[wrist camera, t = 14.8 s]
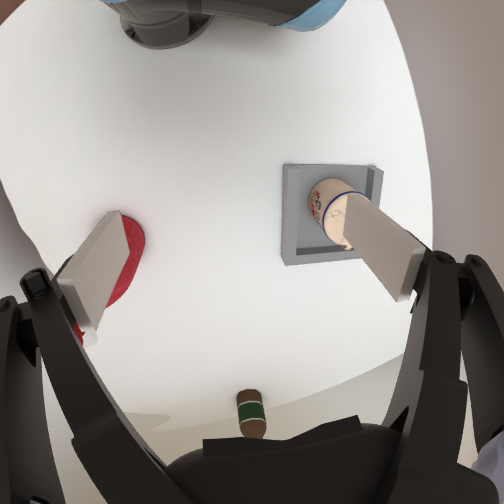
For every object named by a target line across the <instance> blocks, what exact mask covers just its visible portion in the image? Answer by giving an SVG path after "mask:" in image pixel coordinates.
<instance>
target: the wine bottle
mask: <svg viewBox="0 0 504 504" xmlns="http://www.w3.org/2000/svg"><path fill="white" fill-rule="evenodd" d="M121 218H122V222H123V226H124V231H125V235H126V239H127V243H128V247H129V251H130V254H129V256H128V258H127V260H126V262H125V264H124V266H123V269H122V271H121V273H120V275H119V277H118V279H117V282H116V284H115V286H114V289H113V291H112V293H111V295H110V298H109V300H108V303H107V305H106V307H105V309H106V308H107V307H109V306H110V305H112V304H113V303H114V302H116V301H117V300H118V299H119V298H120V297H121V296H122V295H123V294H124V293H125V292H126V290H127V289H128V287H129V286H130V284H131V282H132V280H133V277H134V275H135V272H136V270H137V267H138V264H139V262H140V259H141V256H142V253H143V250H144V245H145V239H144V234H143V231H142V230H141V228H140V226H139V225H138V224H137V223H136V222H135V221H133V220H132V219H130V218H128V217H124V216H121ZM73 329H74V331H75V333H76V334H77V336H78V338H79V340H80V342H81V344H82V346H83V338H82V336H83V335H84V333H85V332H81V330H80V328H79V326H78V324H77V322H76V323H75V325H74V328H73Z"/></svg>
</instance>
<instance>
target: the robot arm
mask: <svg viewBox="0 0 504 504" xmlns="http://www.w3.org/2000/svg"><path fill="white" fill-rule="evenodd" d="M100 1H103V2H104V3H105V4H107V5H108V6H109V7H111V8H112V9H113V10H114V11H116V12H117V13H118V14H120V21H121V25H122V28H123V30H124V32H125V33H126V35H127V36H128V37H129V38H130V39H132V40H133V41H134V42H136V43H137V44H139V45H141V46H143V47H147V48H151V49H168V48H173V47H177V46H180V45H183V44H185V43H187V42H189V41H191V40H193V39H194V38H196V37H197V36H199V35H200V34H201V33H202V32H203V31H204V30H205V29H206V28H207V27H208V25H209V24H210V22H211V20H212V18H213V16H214V15H218V16H226V17H233V18H239V19H245V20H251V21H256V22H261V23H265V24H268V25H269V26H271V27H275V28H277V27H278V28H281V27H282V28H287V29H291V30H295V31H300V32H306V31H313V30H316V29H318V28H320V27H322V26H323V25H325V24H326V23H327V22H328V21H330V20H331V19H332V18H333V17H334V16H335V15H336V13H337V12H338V11H339V10H340V9H341V7H342V6H343V5H344V3H345V2H346V0H100ZM343 237H344V238H345V239H346V240H347V241H348V242H349V244H350V245H351V246H352V247H353V248H354V250H355V251H356V252H357V253H358V254H359V256H360V257H361V258H362V259H363V260H364V262H365V263H366V264H367V265H368V267H369V268H370V269H371V270H372V272H373V273H374V274H375V275H376V277H377V278H378V279H379V280H380V282H381V283H382V284H383V285H384V287H385V288H386V289H387V291H388V292H389V293H390V295H391V296H392V297H393V298H394V300H395V301H396V302H401V301H405V300H409V298H410V296H411V293H412V290H413V289H414V290H415V291H416V293H417V296H416V299H415V301H414V304H413V306H412V309H411V311H410V313H411V314H412V313H413V314H412V320H411V325H410V330H409V335H408V340H407V344H406V349H405V353H404V357H403V361H402V365H401V369H400V372H399V376H398V380H397V383H396V386H395V390H394V393H393V396H392V399H391V402H390V405H389V408H388V411H387V414H386V416H385V419H384V421H383V422H382V424H381V425H377V424H368V423H360V420H359V418H358V415H355V416H352V417H348V418H345V419H340V420H337V421H333V422H328V423H324V424H321V425H319V426H317V427H315V428H313V429H311V430H309V431H307V432H305V433H302V434H300V435H298V436H296V437H293V438H291V439H288V440H267V439H257V438H248V437H235V438H220V439H203V448H202V449H198V450H195V451H192V452H189V453H187V454H185V455H183V456H181V457H179V458H178V459H176V460H175V461H173V462H172V463H171V464H170V465H168V466H166V464H164V462H163V461H162V460H161V459H160V458H159V457H158V456H157V455H156V454H155V453H154V452H153V450H152V449H151V448H150V447H149V446H148V445H147V443H146V442H145V441H144V440H143V438H142V437H141V436H140V435H139V433H138V432H137V431H136V429H135V428H134V427H133V425H132V424H131V423H130V421H129V420H128V419H127V417H126V416H125V415H124V413H123V412H122V410H121V409H120V407H119V406H118V405H117V403H116V402H115V400H114V399H113V397H112V396H111V394H110V393H109V391H108V389H107V388H106V386H105V385H104V383H103V381H102V380H101V378H100V376H99V375H98V373H97V371H96V370H95V368H94V366H93V364H92V363H91V361H90V359H89V357H88V356H87V354H86V352H85V350H84V348H83V346H82V344H81V342H80V340H79V338H78V336H77V334H76V333H75V331H74V329H73V328H74V325H75V323H76V322H77V324H78V326H79V328H80V330H81V332H96V330H97V328H98V325H99V322H100V320H101V317H102V315H103V312H104V310H105V307H106V305H107V303H108V300H109V298H110V295H111V293H112V291H113V289H114V286H115V284H116V282H117V279H118V277H119V275H120V273H121V271H122V269H123V266H124V264H125V262H126V260H127V258H128V256H129V254H130V251H129V247H128V243H127V239H126V235H125V231H124V226H123V222H122V218H121V213H120V210H119V211H112V212H108V213H107V214H106V215H105V216H104V218H103V219H102V220H101V221H100V222H99V223H98V225H97V226H96V227H95V228H94V230H93V231H92V232H91V233H90V235H89V236H88V237H87V238H86V240H85V241H84V242H83V243H82V245H81V246H80V247H79V249H78V250H77V251H76V253H75V254H73V255H72V256H70V257H69V258H68V259H67V260H66V261H65V262H64V263H63V265H62V267H60V269H59V270H58V272H57V273H56V274H55V276H54V277H53V279H52V280H51V282H50V279H49V277H48V275H47V272H46V270H45V269H44V268H36V269H33V270H31V271H29V272H28V273H26V274H25V275H24V276H23V277H22V278H21V280H20V286H21V288H22V289H23V292H24V294H25V296H26V298H27V300H28V302H25V303H21V304H18V303H17V301H16V299H15V297H14V296H6V297H4V298H2V299H1V300H0V504H66V503H65V498H64V495H63V491H62V487H61V484H60V480H59V477H58V473H57V470H56V466H55V462H54V457H53V453H52V448H51V444H50V438H49V433H48V427H47V420H46V413H45V405H44V396H43V384H42V365H41V355H42V358H43V362H44V365H45V368H46V371H47V373H48V376H49V379H50V382H51V384H52V387H53V389H54V392H55V394H56V397H57V399H58V402H59V404H60V406H61V409H62V411H63V413H64V415H65V418H66V419H67V422H68V424H69V426H70V428H71V430H72V432H73V434H74V438H73V439H72V440H71V441H72V445H73V448H74V450H75V452H76V454H77V456H78V458H79V459H80V461H81V463H82V464H83V466H84V468H85V470H86V471H87V473H88V474H89V476H90V478H91V479H92V481H93V483H94V484H95V486H96V487H97V489H98V490H99V492H100V493H101V495H102V496H103V497H104V499H105V500H106V502H107V503H108V504H502V503H503V502H504V292H503V290H502V288H501V286H500V285H499V283H498V281H497V279H496V278H495V276H494V274H493V273H492V271H491V269H490V268H489V266H488V264H487V263H486V262H485V261H484V260H483V259H482V258H481V257H480V256H477V255H471V254H469V255H467V256H466V258H465V261H464V263H456V261H455V259H454V258H453V257H452V256H451V255H449V254H447V253H445V252H443V251H433V252H432V251H431V250H430V249H429V248H428V247H427V246H426V245H424V244H423V243H422V242H421V241H419V239H417V238H416V237H415V236H414V235H413V234H412V233H410V232H409V231H407V230H405V229H403V228H402V227H401V226H400V225H399V224H397V223H396V222H395V221H394V220H392V219H391V218H390V217H389V216H387V215H386V214H385V213H383V212H382V211H381V210H380V209H378V208H377V207H376V206H374V205H373V204H372V203H370V202H369V201H368V200H366V199H365V198H364V197H362V196H361V195H360V194H348V195H347V204H346V213H345V221H344V229H343ZM461 351H462V355H463V360H464V365H465V370H466V375H467V381H468V385H467V383H466V382H464V381H461V380H460V379H459V377H460V358H461ZM468 387H469V393H470V400H471V408H472V418H473V428H474V437H475V442H476V448H477V452H478V460H476V461H475V462H474V463H473V465H472V467H471V469H470V468H467V467H465V466H463V465H461V464H459V463H457V459H458V455H459V450H460V445H461V440H462V434H463V428H464V421H465V414H466V405H467V394H468Z"/></svg>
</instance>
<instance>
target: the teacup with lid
mask: <svg viewBox="0 0 504 504" xmlns="http://www.w3.org/2000/svg"><path fill="white" fill-rule="evenodd" d="M348 194H360V195H361V196H362V197H364V198H365V199H366V200H368V201H369V202H370V203H371V201H370V200H369V199H368V197H367V196H365V195H364V194H362V193H360V192H357V191H356V190H354V189H353V188H352V187H350V186H349V185H347V184H346V183H344V182H343V181H341V180H339V179H335V178H329V179H325V180H323V181H321V182H319V183H318V184H316V185H315V186H314V188H313V189H312V190H311V192H310V195H309V198H308V208H309V211H310V213H311V215H312V216H313V217H314V219H315V220H316V221H317V222H318V224H319V225H320V226H321V227H322V229H323V231H324V233H325V235H326V236H327V237H328V239H329V240H331V241H332V242H334V243H337V244H340V245H342V246H343V248H344V249H345V250H349V249H351V248H352V246H351V245H350V244H349V242H348V241H347V240H346V239H345V238H344V237H343V229H344V221H345V213H346V204H347V195H348Z"/></svg>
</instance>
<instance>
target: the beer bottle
mask: <svg viewBox="0 0 504 504" xmlns="http://www.w3.org/2000/svg"><path fill="white" fill-rule="evenodd" d="M237 408H238V416H239V424H240V430H241V432H242V434H243V436H244V437H248V438H257V439H263V436H264V434H265V432H266V419H265V414H264V408H263V403H262V398H261V394H260V393H259V392H258V391H257V390H251V389H247V390H244V391H241V392H239V394H238V396H237Z"/></svg>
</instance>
